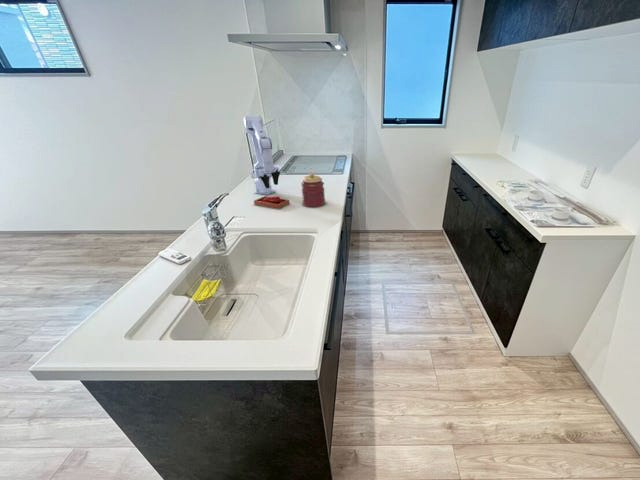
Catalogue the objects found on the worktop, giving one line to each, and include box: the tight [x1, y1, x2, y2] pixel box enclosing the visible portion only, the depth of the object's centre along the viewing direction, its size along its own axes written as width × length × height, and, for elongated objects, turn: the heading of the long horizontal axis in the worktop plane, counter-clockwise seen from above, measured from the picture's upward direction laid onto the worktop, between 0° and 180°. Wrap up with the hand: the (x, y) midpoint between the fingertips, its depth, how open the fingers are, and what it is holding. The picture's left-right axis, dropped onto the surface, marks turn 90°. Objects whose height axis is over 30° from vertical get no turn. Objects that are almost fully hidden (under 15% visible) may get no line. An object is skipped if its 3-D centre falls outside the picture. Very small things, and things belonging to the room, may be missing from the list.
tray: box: [253, 195, 290, 210], centre depth 182 cm, size 18×10×2 cm, turn 66°
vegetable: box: [263, 196, 283, 204], centre depth 181 cm, size 4×5×12 cm
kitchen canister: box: [300, 172, 326, 208], centre depth 179 cm, size 13×13×18 cm
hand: (271, 186), depth 181 cm, fingers open, 7 cm apart
